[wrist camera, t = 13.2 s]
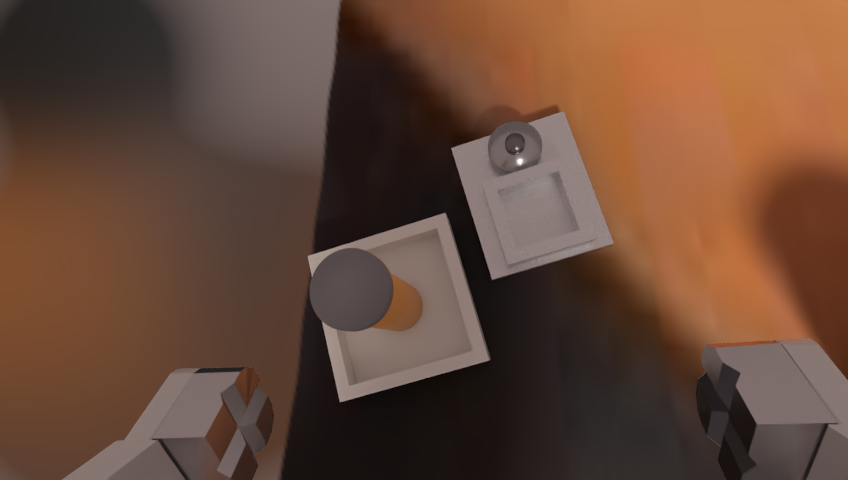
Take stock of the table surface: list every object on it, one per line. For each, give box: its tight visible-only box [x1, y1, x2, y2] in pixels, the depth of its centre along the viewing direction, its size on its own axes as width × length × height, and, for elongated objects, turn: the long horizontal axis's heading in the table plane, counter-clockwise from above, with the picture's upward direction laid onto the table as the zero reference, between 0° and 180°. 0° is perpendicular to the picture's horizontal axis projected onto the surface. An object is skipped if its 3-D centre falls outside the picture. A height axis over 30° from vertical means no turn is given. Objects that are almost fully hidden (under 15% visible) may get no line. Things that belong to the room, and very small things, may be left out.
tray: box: [308, 213, 491, 402], centre depth 41 cm, size 12×12×3 cm
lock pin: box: [310, 248, 423, 332], centre depth 35 cm, size 5×5×13 cm
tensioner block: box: [451, 111, 614, 281], centre depth 41 cm, size 12×10×3 cm
